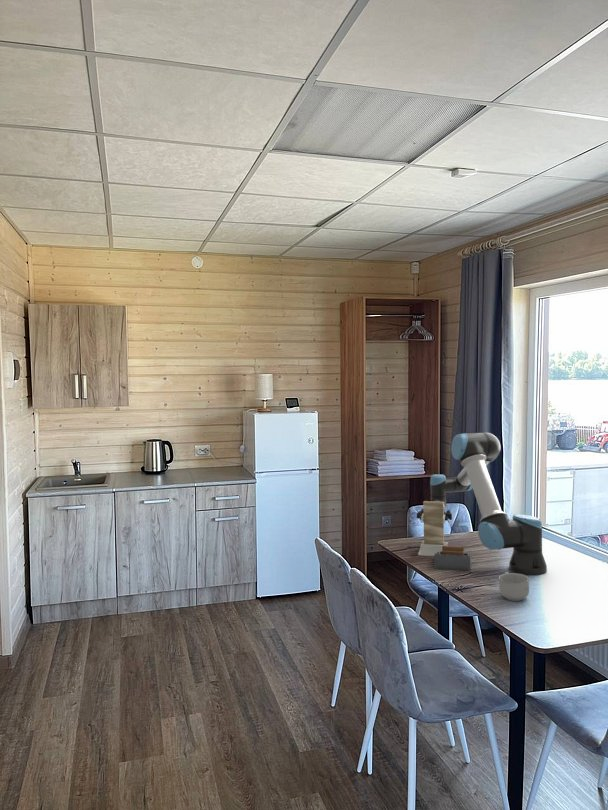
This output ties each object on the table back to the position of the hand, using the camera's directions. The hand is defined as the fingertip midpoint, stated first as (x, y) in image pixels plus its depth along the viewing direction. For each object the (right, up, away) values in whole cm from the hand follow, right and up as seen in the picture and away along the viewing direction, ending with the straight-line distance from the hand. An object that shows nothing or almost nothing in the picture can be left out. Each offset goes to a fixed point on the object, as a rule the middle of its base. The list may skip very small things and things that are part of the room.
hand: (432, 520), depth 278 cm
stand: (+2, -18, +5) cm, 19 cm away
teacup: (+20, -20, -49) cm, 56 cm away
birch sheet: (+2, -14, +5) cm, 15 cm away
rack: (+6, -18, -13) cm, 24 cm away
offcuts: (+6, -17, -15) cm, 23 cm away
